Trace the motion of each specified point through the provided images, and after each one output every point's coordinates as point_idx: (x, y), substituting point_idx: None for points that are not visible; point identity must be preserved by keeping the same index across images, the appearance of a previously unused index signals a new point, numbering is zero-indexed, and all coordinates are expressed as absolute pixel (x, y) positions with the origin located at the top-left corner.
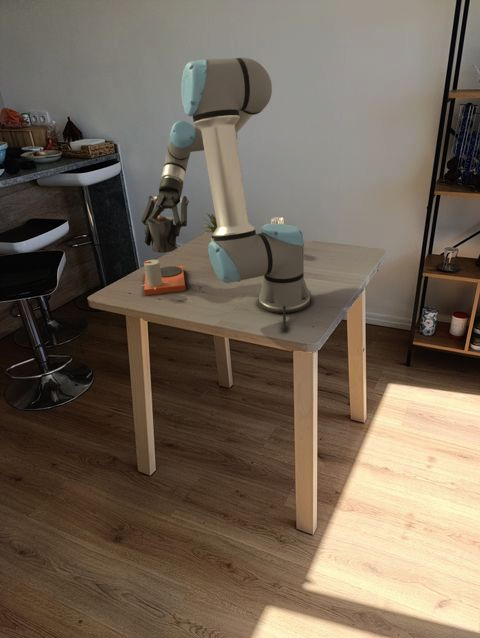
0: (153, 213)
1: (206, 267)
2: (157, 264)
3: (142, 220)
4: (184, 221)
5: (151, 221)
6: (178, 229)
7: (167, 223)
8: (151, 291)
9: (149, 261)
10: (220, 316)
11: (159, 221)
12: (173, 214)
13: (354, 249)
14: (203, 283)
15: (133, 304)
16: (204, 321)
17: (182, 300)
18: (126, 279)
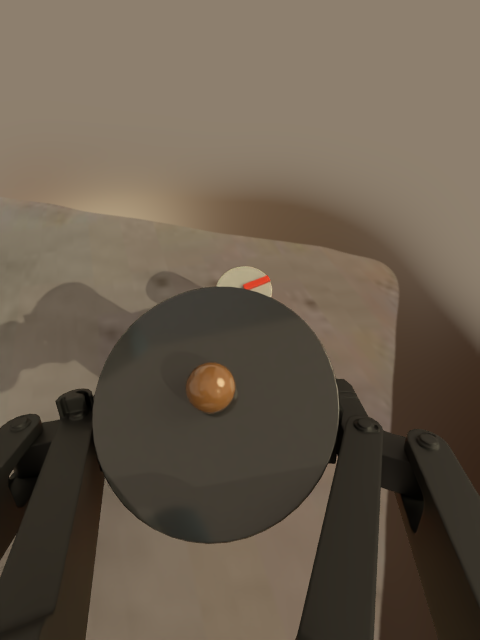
0: (347, 517)
1: (127, 556)
2: (217, 286)
3: (426, 434)
4: (4, 432)
5: (278, 338)
6: (94, 397)
7: (134, 331)
8: None
9: (249, 286)
10: (64, 235)
11: (204, 341)
12: (73, 490)
13: None
14: None
15: (267, 253)
16: (94, 216)
17: (157, 285)
18: (386, 395)
